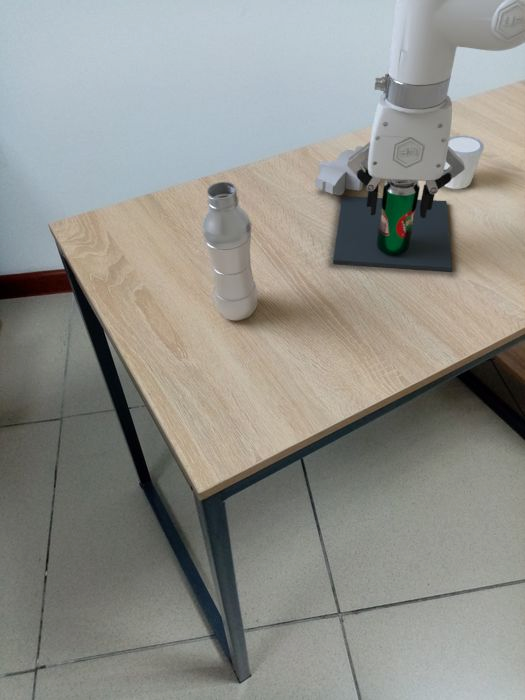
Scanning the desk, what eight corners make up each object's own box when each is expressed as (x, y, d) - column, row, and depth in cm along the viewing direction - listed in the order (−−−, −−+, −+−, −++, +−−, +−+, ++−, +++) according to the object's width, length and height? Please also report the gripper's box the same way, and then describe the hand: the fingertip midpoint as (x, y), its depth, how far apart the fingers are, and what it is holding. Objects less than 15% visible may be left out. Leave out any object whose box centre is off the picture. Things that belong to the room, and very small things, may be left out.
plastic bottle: (211, 325, 76) (188, 205, 61) (220, 293, 81) (201, 174, 66) (255, 327, 76) (243, 207, 61) (262, 295, 80) (252, 175, 65)
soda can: (374, 238, 86) (382, 171, 77) (406, 237, 86) (418, 169, 77) (377, 258, 83) (386, 190, 74) (410, 257, 83) (423, 189, 74)
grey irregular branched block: (303, 165, 94) (355, 133, 101) (303, 191, 98) (353, 158, 104) (346, 183, 89) (397, 148, 96) (344, 209, 93) (393, 174, 100)
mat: (445, 204, 93) (446, 200, 92) (451, 271, 81) (452, 267, 80) (341, 199, 95) (342, 195, 95) (332, 263, 84) (333, 259, 83)
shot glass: (428, 182, 98) (435, 145, 92) (448, 166, 101) (456, 131, 95) (461, 195, 94) (470, 158, 89) (481, 178, 97) (491, 142, 92)
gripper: (344, 100, 65) (337, 223, 78) (493, 103, 62) (459, 229, 76) (348, 75, 70) (341, 194, 83) (486, 76, 67) (456, 200, 80)
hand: (397, 210), depth 79 cm, fingers open, 6 cm apart
